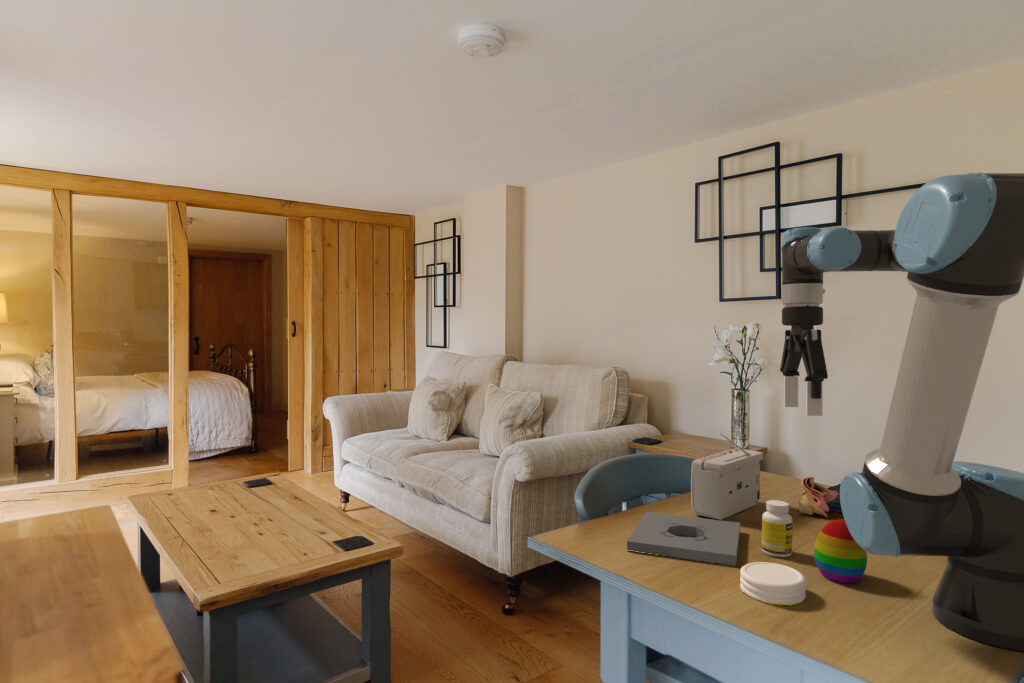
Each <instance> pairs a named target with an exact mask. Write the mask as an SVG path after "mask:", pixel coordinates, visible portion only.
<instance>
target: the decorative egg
mask: <svg viewBox="0 0 1024 683" xmlns="http://www.w3.org/2000/svg"><path fill="white" fill-rule="evenodd" d="M814 541H815V542H814V546H813V547H814V548H813V556H814V558H813V559H814V562H815V565H816V566H817V569H818V570H819V572H820V574H821V575H822V576H823V577H824V578H825V579H828V580H830V581H832V582H837V583H840V582H841V583H842V584H854V583H856V582H858V581H859V580H860V579H861V578H862V577H863V575H864V574H865V572H866V569H867V564H868V552H867V551H865V550H864V549H862V548H861V547H860V546H859V545H858V544H857V543H856V541H855V540H854V539H853V537H852V535H851V534H850V532H849V530H848V527H847V525H846V523H845V520H842V519H834V520H832V521H829V522H828V523H826V524H825V525H823V527H822V528H821V530H820V531H819V532H818V534H817V536H816V538H815V540H814ZM841 583H840V584H841Z"/></svg>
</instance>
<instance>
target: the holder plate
mask: <svg viewBox="0 0 1024 683" xmlns="http://www.w3.org/2000/svg"><path fill="white" fill-rule="evenodd" d="M680 534H681V535H680ZM685 536H690V537H685ZM740 537H741V522H737V521H728V520H719V519H713V518H703V517H693V516H687V515H686V516H684V515H675V514H665V513H659V512H650V511H649V512H648V511H645V512H644V513H643V515H642V517H641V519H640V520H639V521H638V523H637V525H636V526H635V528H634V529H633V531H632V533H631V534H630V536H629V537H628V538H627V541H626V551H627V550H634V551H639V552H645V553H652V554H658V555H664V556H663V557H665V556H671V557H670V558H672V557H676V558H675V559H679V558H684V559H683V560H686V559H689V560H688V561H693V560H697V561H696V562H700V561H704V562H703V563H707V562H711V563H710V564H715V563H718V564H717V565H722V564H725V565H724V566H729V565H732V566H731V567H737V559H738V554H737V553H738V552H739V551H738V550H739V544H740Z"/></svg>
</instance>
